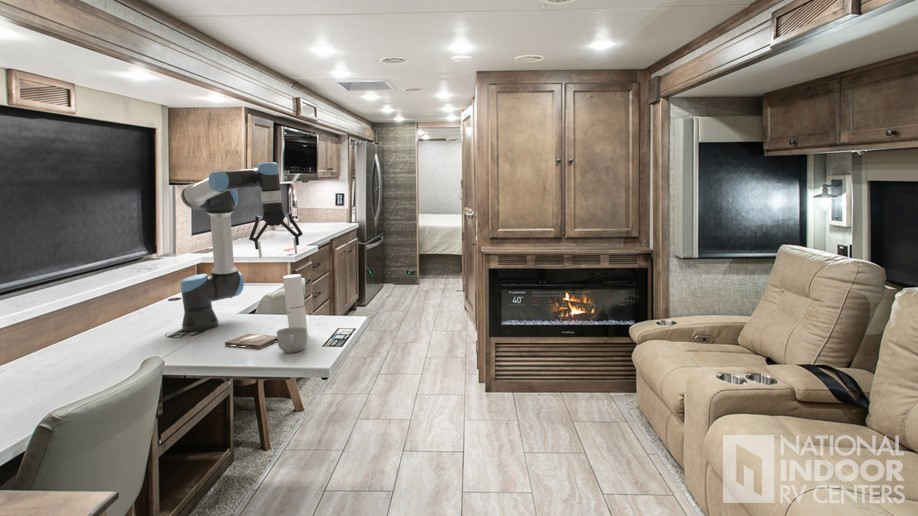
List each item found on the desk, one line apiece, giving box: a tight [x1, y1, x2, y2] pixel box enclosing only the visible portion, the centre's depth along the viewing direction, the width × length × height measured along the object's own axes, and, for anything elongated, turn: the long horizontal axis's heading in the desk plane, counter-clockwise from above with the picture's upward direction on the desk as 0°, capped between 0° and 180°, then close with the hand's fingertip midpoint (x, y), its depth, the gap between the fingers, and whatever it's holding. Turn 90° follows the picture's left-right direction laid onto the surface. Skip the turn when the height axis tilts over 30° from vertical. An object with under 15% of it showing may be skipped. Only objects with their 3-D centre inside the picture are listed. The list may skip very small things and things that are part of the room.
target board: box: [224, 333, 278, 349], centre depth 242 cm, size 18×12×2 cm, turn 65°
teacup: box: [276, 327, 308, 353], centre depth 226 cm, size 14×11×8 cm
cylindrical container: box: [282, 273, 309, 337], centre depth 245 cm, size 7×7×25 cm
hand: (278, 255), depth 240 cm, fingers open, 13 cm apart
